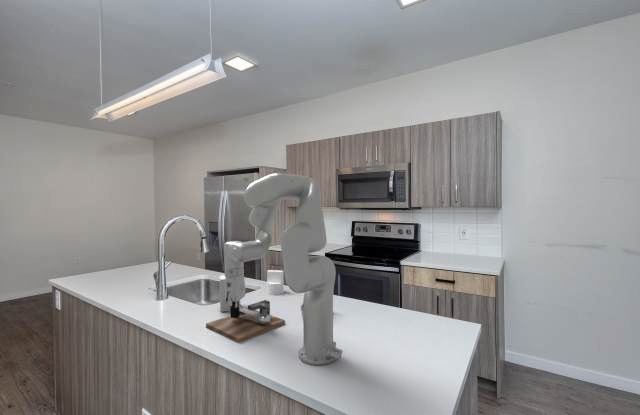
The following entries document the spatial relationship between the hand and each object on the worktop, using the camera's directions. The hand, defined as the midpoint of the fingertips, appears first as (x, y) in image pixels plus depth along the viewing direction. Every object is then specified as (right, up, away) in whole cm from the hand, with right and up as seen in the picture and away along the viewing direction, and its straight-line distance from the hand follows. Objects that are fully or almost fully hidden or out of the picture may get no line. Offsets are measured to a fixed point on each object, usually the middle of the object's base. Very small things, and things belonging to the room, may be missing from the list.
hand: (235, 316), depth 123 cm
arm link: (+7, -1, 0) cm, 7 cm away
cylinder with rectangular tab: (+10, -3, +44) cm, 45 cm away
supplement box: (-8, -3, +19) cm, 21 cm away
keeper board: (+5, -3, -2) cm, 6 cm away
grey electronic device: (+33, -3, +7) cm, 34 cm away
